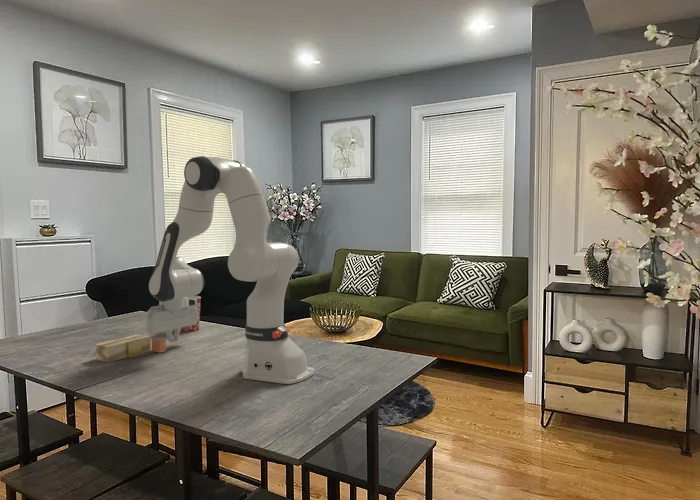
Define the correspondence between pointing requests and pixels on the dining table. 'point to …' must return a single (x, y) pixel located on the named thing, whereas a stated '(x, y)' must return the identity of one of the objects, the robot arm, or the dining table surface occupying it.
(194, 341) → the dining table surface
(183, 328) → the mug
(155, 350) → the orange block
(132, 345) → the pin
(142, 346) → the block
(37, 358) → the dining table surface
